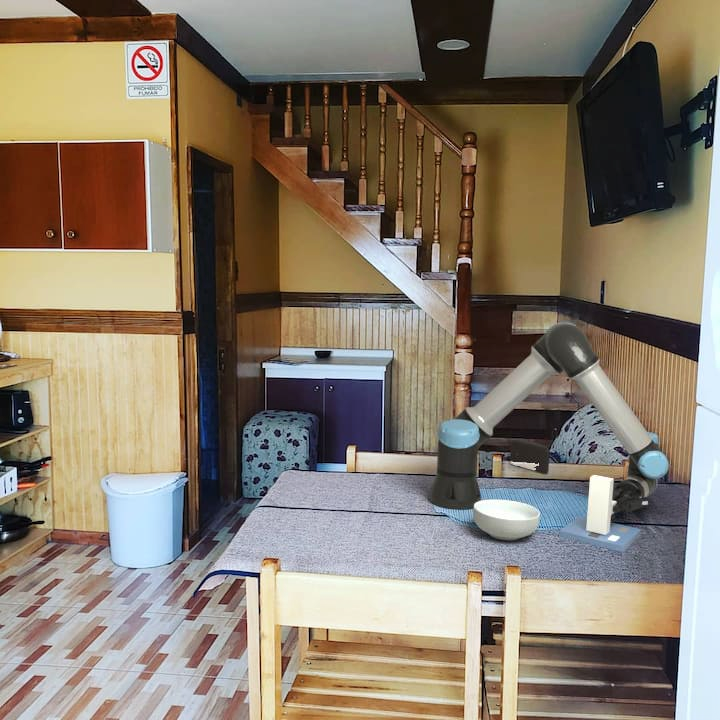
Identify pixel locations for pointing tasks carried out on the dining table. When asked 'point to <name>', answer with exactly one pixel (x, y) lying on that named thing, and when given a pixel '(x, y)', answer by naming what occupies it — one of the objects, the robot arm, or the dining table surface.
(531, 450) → the leaning round-cornered charcoal block
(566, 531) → the switch board
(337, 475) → the dining table surface
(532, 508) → the cereal bowl
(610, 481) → the white upright block
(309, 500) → the dining table surface
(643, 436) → the robot arm
